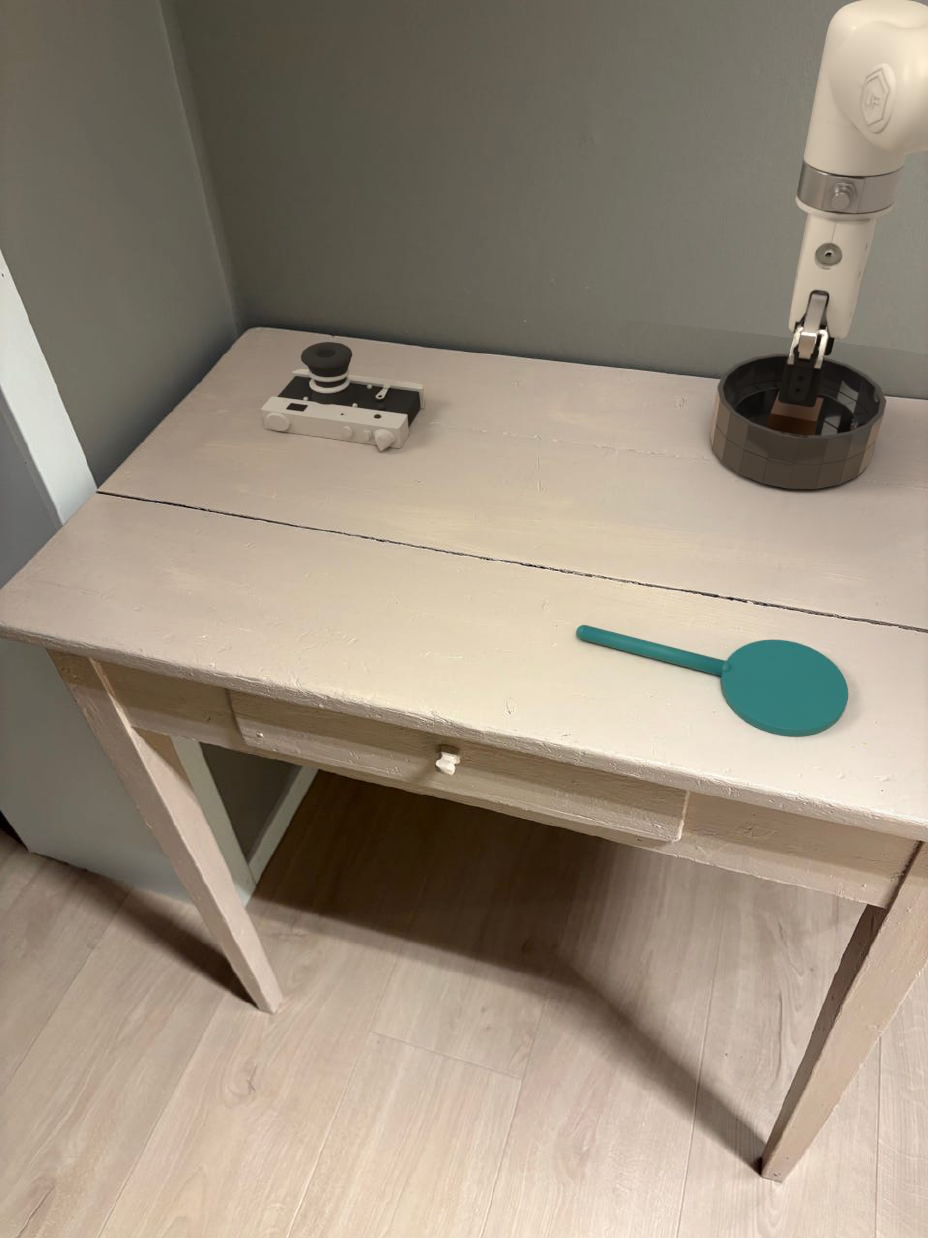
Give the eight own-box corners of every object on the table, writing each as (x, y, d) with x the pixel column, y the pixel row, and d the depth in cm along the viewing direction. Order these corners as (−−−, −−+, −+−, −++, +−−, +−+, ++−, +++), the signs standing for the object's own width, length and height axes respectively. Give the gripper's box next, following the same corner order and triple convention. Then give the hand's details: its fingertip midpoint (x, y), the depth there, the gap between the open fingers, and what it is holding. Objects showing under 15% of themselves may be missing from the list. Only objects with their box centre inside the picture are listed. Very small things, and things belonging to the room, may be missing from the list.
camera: (424, 343, 98) (388, 393, 91) (428, 404, 103) (395, 455, 96) (288, 328, 101) (244, 375, 95) (298, 387, 106) (258, 435, 100)
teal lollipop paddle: (853, 664, 73) (857, 653, 72) (836, 751, 67) (840, 740, 66) (593, 599, 79) (594, 589, 79) (557, 674, 74) (558, 663, 73)
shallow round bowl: (877, 421, 96) (893, 367, 92) (859, 507, 87) (875, 451, 82) (727, 395, 101) (736, 343, 97) (694, 474, 91) (702, 420, 87)
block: (814, 435, 94) (823, 398, 91) (807, 458, 91) (816, 420, 88) (771, 427, 95) (778, 390, 93) (762, 450, 93) (770, 412, 90)
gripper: (885, 231, 70) (834, 433, 81) (907, 152, 81) (859, 339, 93) (780, 220, 72) (745, 417, 84) (815, 145, 83) (780, 328, 95)
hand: (805, 376), depth 88 cm, fingers open, 9 cm apart
